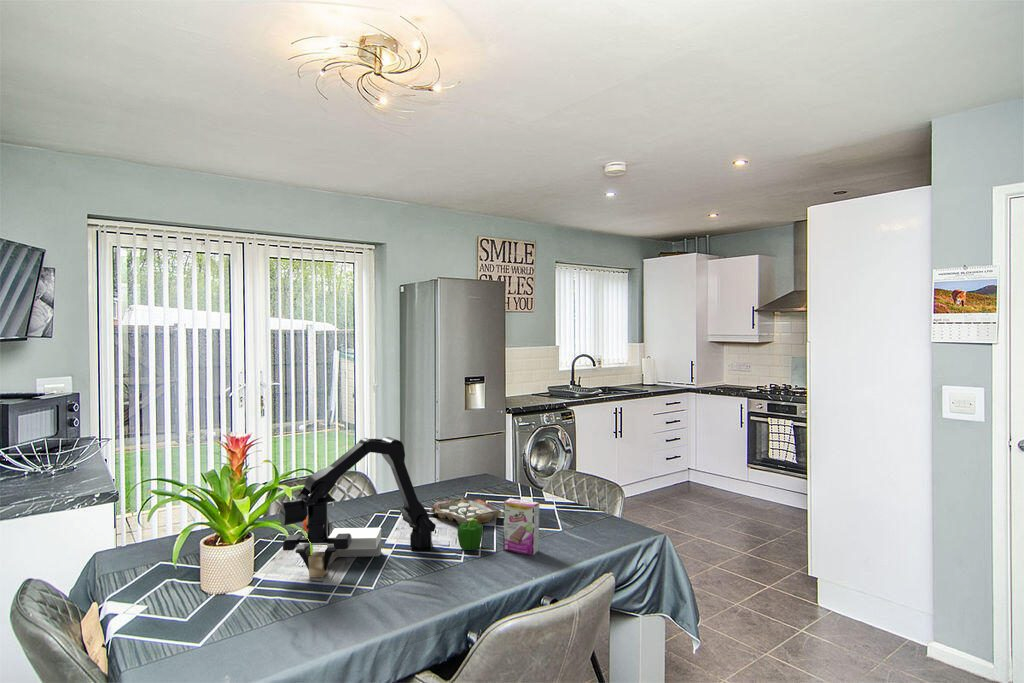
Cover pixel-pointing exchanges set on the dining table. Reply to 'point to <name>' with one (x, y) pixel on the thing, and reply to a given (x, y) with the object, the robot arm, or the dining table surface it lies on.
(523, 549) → the candy bar box
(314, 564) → the wooden mallet
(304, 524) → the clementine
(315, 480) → the robot arm
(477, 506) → the egg carton
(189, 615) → the dining table surface
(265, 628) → the dining table surface
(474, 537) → the bell pepper
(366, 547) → the white rectangular box
